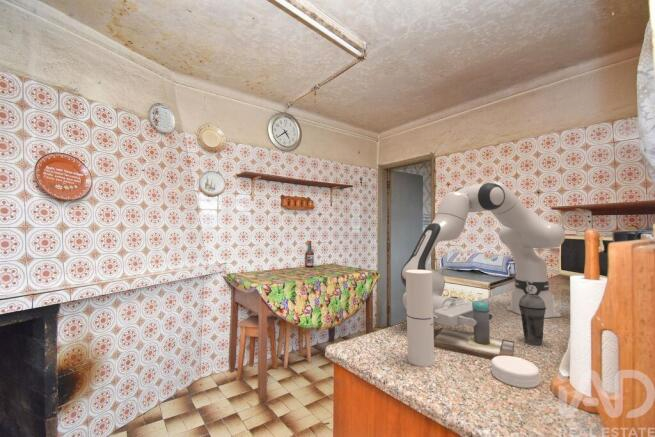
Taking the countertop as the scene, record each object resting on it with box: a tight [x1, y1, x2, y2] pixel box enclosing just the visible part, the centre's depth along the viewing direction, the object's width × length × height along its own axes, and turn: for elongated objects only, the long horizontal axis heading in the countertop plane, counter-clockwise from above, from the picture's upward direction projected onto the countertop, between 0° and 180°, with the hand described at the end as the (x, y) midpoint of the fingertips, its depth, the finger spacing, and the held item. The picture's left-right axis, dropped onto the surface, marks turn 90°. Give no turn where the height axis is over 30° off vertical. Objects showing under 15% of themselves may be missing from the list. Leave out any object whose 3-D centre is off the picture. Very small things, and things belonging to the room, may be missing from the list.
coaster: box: [490, 356, 540, 389], centre depth 71 cm, size 10×10×4 cm
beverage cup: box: [519, 280, 546, 346], centre depth 92 cm, size 7×7×20 cm
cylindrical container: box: [405, 270, 435, 368], centre depth 81 cm, size 7×7×25 cm
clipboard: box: [434, 327, 515, 361], centre depth 90 cm, size 15×22×2 cm
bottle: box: [471, 300, 491, 345], centre depth 89 cm, size 5×5×12 cm
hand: (484, 319), depth 88 cm, fingers open, 8 cm apart
